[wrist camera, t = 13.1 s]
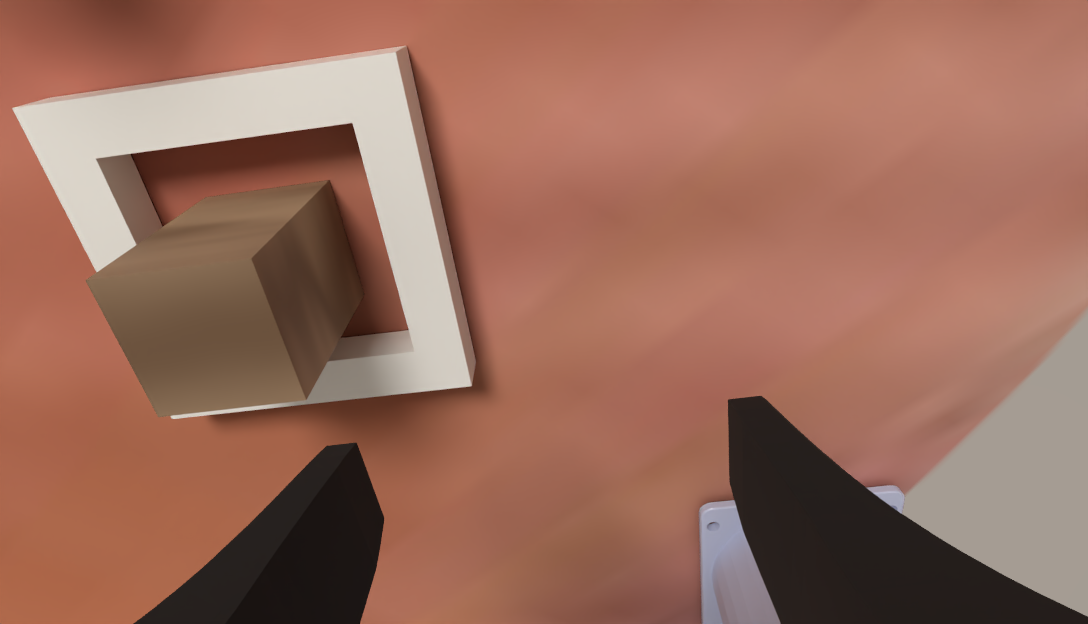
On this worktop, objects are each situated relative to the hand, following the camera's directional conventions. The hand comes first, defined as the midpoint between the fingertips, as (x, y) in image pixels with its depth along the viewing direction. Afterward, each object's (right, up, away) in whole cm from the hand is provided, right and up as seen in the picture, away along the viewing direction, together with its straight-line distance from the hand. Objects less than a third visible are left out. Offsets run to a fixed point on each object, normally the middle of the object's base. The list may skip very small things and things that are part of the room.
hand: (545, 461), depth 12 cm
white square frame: (-8, +5, +8) cm, 13 cm away
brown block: (-8, +5, +8) cm, 13 cm away
